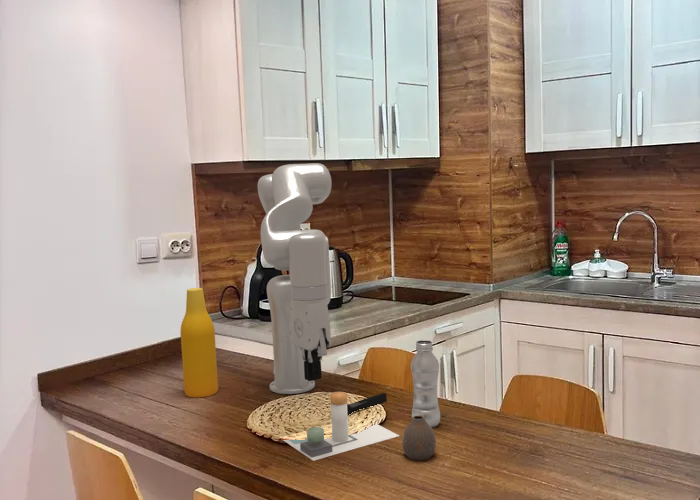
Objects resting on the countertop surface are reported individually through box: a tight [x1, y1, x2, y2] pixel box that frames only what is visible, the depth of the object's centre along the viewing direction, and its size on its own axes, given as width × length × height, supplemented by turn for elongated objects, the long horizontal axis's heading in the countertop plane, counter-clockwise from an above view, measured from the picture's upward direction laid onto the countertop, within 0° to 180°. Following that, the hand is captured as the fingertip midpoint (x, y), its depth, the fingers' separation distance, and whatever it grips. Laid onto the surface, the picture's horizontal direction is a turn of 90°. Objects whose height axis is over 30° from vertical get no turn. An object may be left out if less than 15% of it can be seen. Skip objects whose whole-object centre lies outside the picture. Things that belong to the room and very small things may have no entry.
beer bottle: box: [179, 287, 219, 399], centre depth 193 cm, size 9×9×29 cm
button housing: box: [300, 440, 332, 457], centre depth 150 cm, size 5×5×2 cm
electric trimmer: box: [347, 392, 388, 415], centre depth 176 cm, size 4×15×3 cm, turn 132°
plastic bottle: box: [410, 339, 441, 429], centre depth 162 cm, size 6×7×20 cm
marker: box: [329, 391, 349, 442], centre depth 155 cm, size 4×4×10 cm
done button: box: [306, 426, 324, 442], centre depth 150 cm, size 4×4×2 cm
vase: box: [401, 415, 437, 461], centre depth 145 cm, size 7×7×9 cm
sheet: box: [282, 423, 400, 462], centre depth 158 cm, size 16×22×1 cm
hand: (313, 379), depth 148 cm, fingers closed
